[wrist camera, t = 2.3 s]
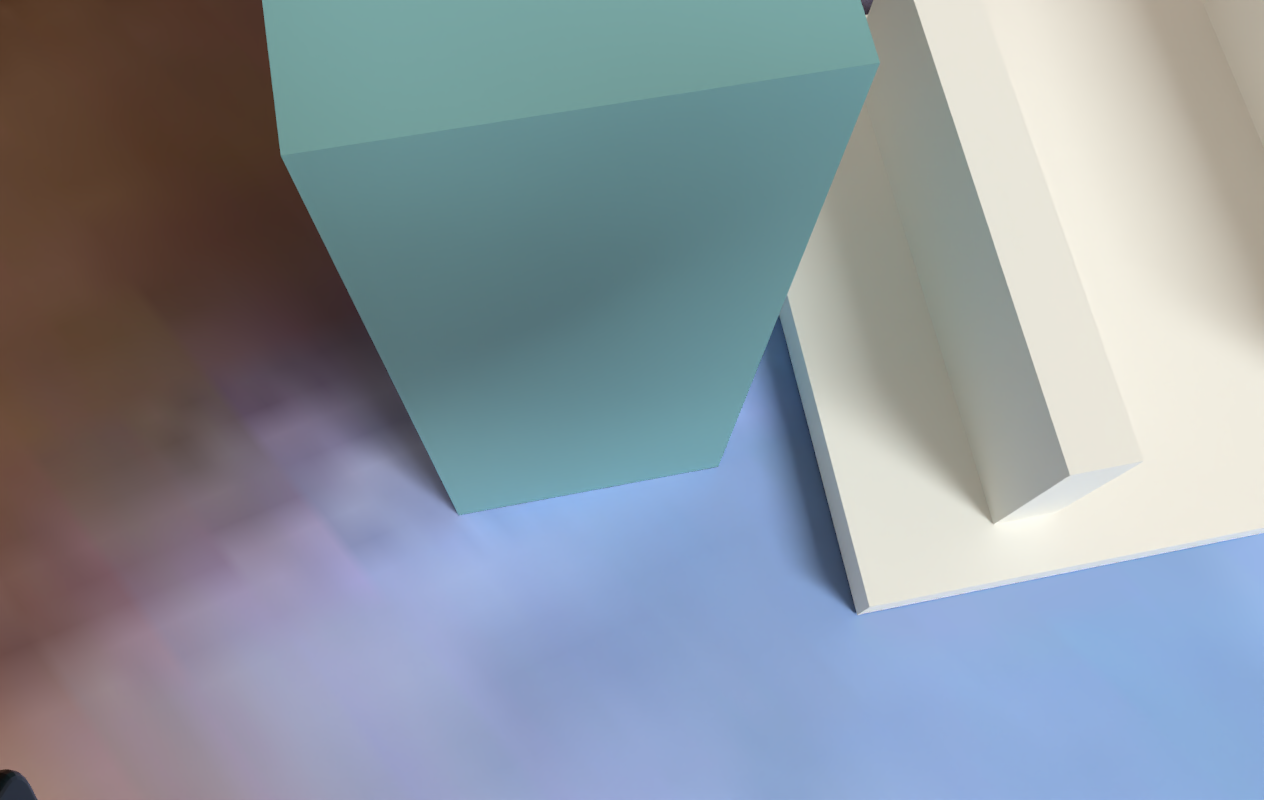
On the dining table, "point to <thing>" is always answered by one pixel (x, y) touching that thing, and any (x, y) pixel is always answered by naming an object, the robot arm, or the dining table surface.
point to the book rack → (1039, 293)
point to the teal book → (567, 212)
